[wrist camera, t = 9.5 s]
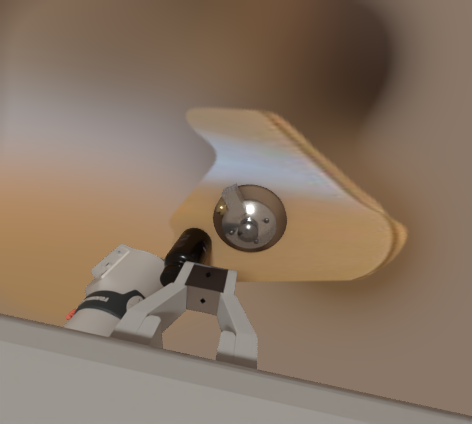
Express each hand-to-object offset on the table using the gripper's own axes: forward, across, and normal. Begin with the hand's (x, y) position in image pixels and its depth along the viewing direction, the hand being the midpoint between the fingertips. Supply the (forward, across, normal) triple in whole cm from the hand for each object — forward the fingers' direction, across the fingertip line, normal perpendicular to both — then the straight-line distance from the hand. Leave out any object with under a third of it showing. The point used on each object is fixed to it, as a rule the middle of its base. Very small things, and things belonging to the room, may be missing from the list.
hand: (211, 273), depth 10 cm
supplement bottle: (+24, +8, +17) cm, 30 cm away
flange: (+22, -2, +8) cm, 23 cm away
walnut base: (+24, -3, +9) cm, 26 cm away
